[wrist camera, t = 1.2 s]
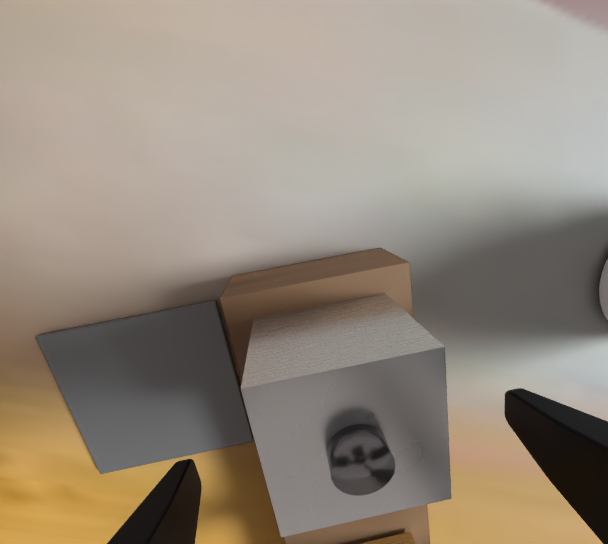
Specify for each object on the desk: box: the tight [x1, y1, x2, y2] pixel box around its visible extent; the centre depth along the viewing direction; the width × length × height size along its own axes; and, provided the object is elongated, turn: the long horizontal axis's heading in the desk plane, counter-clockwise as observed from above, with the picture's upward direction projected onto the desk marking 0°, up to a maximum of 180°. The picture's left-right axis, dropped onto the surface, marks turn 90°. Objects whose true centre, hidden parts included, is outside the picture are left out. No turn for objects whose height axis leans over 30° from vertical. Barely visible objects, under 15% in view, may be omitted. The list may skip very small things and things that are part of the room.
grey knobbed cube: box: [241, 293, 451, 537], centre depth 9 cm, size 5×5×5 cm
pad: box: [36, 300, 253, 474], centre depth 14 cm, size 8×8×1 cm
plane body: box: [220, 248, 430, 544], centre depth 15 cm, size 20×7×3 cm, turn 10°
